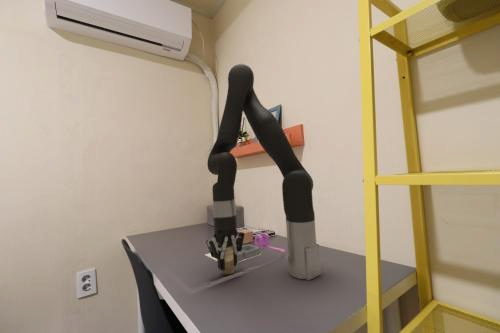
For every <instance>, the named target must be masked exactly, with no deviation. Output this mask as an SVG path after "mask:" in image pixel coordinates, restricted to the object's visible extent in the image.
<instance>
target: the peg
mask: <svg viewBox="0 0 500 333" xmlns="http://www.w3.org/2000/svg"><path fill="white" fill-rule="evenodd" d="M221 248H222V247H221ZM224 263H225V270H224V271H221V273H222V274H223V275H231V274H234V273H235V266H234V255H233V246H232V245H231V246H227V247H226V251H225V252H224Z"/></svg>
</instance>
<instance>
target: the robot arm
mask: <svg viewBox="0 0 500 333" xmlns="http://www.w3.org/2000/svg"><path fill="white" fill-rule="evenodd" d="M227 76H228V77H227V86H228V87H227V93H226V94H227V95H226V99H225V105H224V109H223V113H222V116H221V120H220V124H219V129H218V133H217V136H216V140H215V142H214V144H213V146H212V148H211V150H210V152H209V155H208V158H207V163H206V164H207V170H208V171H209V173H211V174H212V175H215V176H217V181H216V182H215V183H213V185H212V220H213V229H214V230H213V231H214V233H213V237H212V238H210V239H207V240H206V241H205V243H206V246H207V248H208V252H209V253H210V254H211V256H212V257H214V258H216V259H217V260H218V261H217V267H218V269H219V270H220V271H221V272H222V271H224V270H225V263H224V252H225V251H226V247H227V246H231V245H232V246H233V255H234V267H237V264H238V263H237V253H238V252H239V251H241V250H242V246H244V245H243V240H244V233H243V232H237V231H238V230H237V228H238V220H237V206H236V201H235V198H236V197H235V183H236V176H237V169H238V163H237V160H236V159H237V158H235V156H234V154H232V153H231V152H232V150H234V149H235V148H236V147H237V145H238V141H239V135H240V131H241V127H242V120H243V114H244V116H245V118H246V120H247V122H248V124H249V127H250V128H251V130H252V132H253V133H254V136H255V138H256V139H257V141H258V143H259V145H260V147H262V148H263V150H264V152H265V153H266V154H267V156H268V157H270V159H271V160H272V161H273V162H274V163H275V164H276V166H277V167H278V170H279V171H280V173H281V176H282V177H283V180H282V184H281V185H282V186H281V192H282V202H283V205H282V206H283V212H284V214H285V226H286V244H287V245H286V246H287V259H288V260H287V261H288V273H289V275H290V276H291V277H293V278H294V279H295V278H296V279H299V280H307V281H311V280H312V279H314V278H317V277H318V276H320V275H321V274H322V268H321V267H322V266H321V257H320V256H321V255H320V253H321V252H320V244H319V243H317V237H316V236H317V235H316V232H317V231H316V219H315V210H314V202H313V189H314V180H313V178H312V176H311V175H310V174H309V172H308V171H307V170H306V169H305V167H304V165H303V164H302V162H300V160H299V159H298V157H297V156H296V154H295V152H294V150H293V148H292V145H291V143H290V141H289V139H288V137H287V136H286V134H285V132H284V129H283V128H282V126H281V124H280V123H279V121H278V119H277V117H276V116H275V115H274V114H273V113H272V112H271V111H270V110H268V109H267V108H266V107H265V106H264V105H263V104H262V103H261V101H260V100H259V98H258V96H257V94H256V91H255V90H254V82H255V76H254V71H253V70H252V68H251V67H250V66H249V65H246V64H244V63H237V64H235V65H234V66H232V67H231V68H230V69H229V72H228V75H227ZM216 243H217V244H216ZM221 247H222V248H221Z"/></svg>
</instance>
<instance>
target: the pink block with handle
mask: <svg viewBox="0 0 500 333" xmlns="http://www.w3.org/2000/svg"><path fill="white" fill-rule="evenodd" d="M253 243H254V246H255V247H258V248H260V250H264V247H266V248H270V249H273V250H277V251H279V252H283V253H286V251H285V249H284V248H279V247H275V246H271V245H270V235H269V234H268V233H267V232H263V233H261V234H256V235H255V236H254V237H253ZM281 256H282V257H283V256H284V254H282V255H281Z"/></svg>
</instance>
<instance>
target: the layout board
mask: <svg viewBox="0 0 500 333" xmlns="http://www.w3.org/2000/svg"><path fill="white" fill-rule="evenodd" d="M260 250H261V249H260V248H258V247H255V245H252V244H250V243H249V244H245V245H242V250H241V251H239V252H238V253H237V264H239V263H242V262H244V261H246V260H249V259H253V258H256V257H258V256H261V255H262V254H261V251H260ZM204 256H206V257H208V258H210V259H212V260H214V261H216V262H218V260H217V259H216V258H214V257H212V256H211V254H210V252H209V253H206V254H204Z"/></svg>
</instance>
